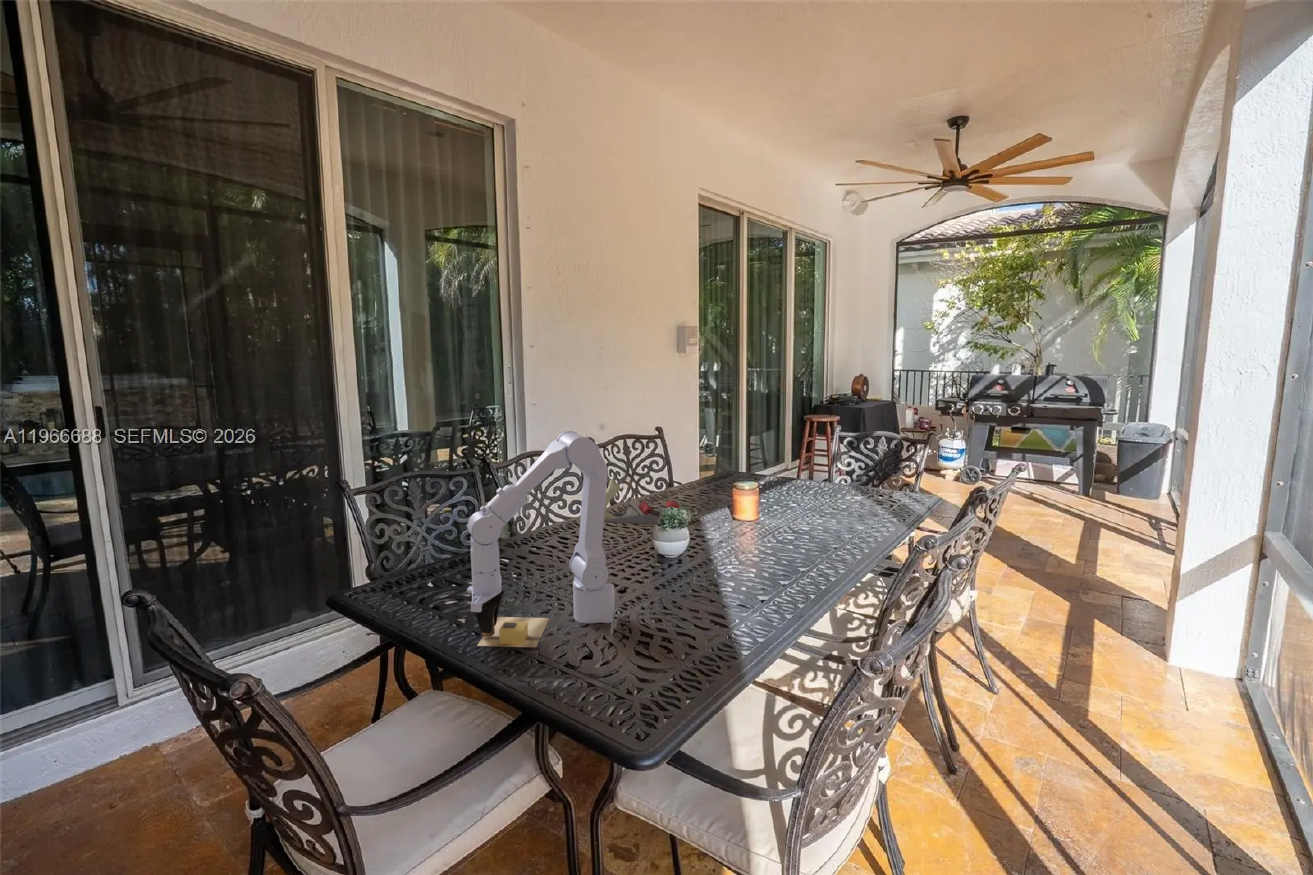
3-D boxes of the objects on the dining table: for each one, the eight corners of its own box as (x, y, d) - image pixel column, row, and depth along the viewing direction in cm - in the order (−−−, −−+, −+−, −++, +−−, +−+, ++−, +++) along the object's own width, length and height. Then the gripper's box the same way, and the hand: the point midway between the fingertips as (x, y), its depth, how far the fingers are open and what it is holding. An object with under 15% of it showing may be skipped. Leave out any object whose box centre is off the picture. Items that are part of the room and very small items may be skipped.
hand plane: (594, 516, 221) (593, 476, 218) (680, 519, 218) (680, 478, 215) (590, 522, 214) (589, 481, 211) (678, 525, 211) (679, 483, 208)
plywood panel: (549, 622, 141) (549, 618, 140) (536, 652, 128) (536, 647, 128) (495, 621, 141) (495, 616, 141) (477, 651, 128) (476, 645, 128)
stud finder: (528, 634, 133) (527, 620, 132) (523, 644, 129) (522, 629, 128) (505, 634, 133) (504, 620, 132) (499, 643, 129) (499, 629, 128)
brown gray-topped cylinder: (496, 630, 133) (494, 604, 131) (492, 636, 130) (491, 610, 129) (484, 630, 133) (482, 604, 132) (480, 636, 130) (479, 610, 129)
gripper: (478, 555, 136) (481, 612, 138) (454, 582, 122) (458, 645, 124) (509, 556, 136) (512, 613, 138) (489, 582, 121) (492, 646, 124)
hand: (488, 628), depth 131 cm, fingers closed on brown gray-topped cylinder, 3 cm apart
